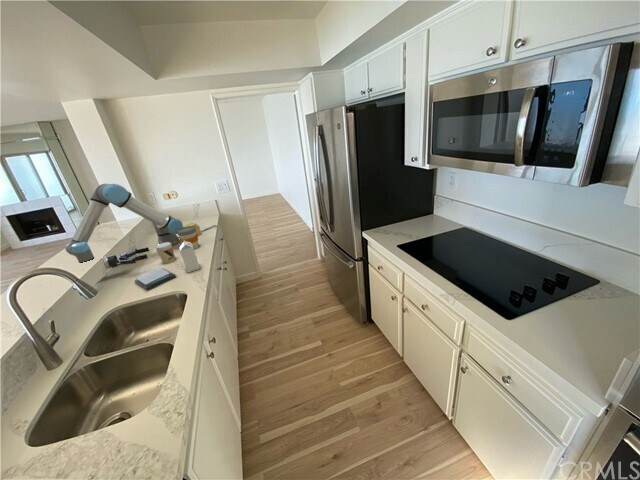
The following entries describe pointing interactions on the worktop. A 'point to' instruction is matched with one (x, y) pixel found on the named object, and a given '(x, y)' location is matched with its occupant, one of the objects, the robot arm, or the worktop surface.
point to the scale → (154, 278)
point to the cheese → (195, 227)
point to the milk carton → (189, 256)
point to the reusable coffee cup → (189, 235)
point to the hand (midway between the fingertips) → (147, 252)
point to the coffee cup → (165, 252)
